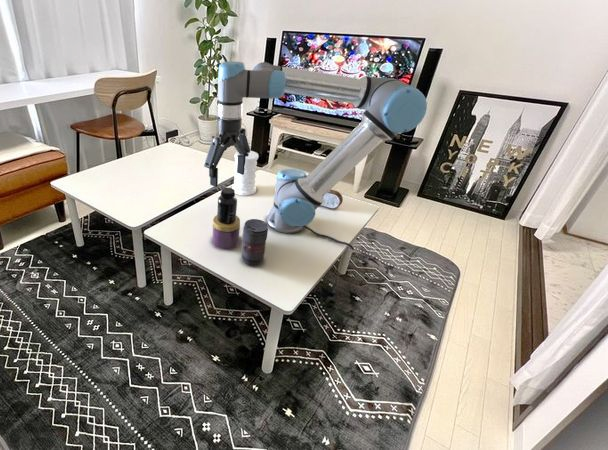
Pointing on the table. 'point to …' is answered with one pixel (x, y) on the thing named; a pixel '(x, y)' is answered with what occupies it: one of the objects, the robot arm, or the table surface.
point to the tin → (332, 199)
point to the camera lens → (254, 241)
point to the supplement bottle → (227, 206)
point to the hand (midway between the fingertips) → (227, 179)
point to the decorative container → (246, 175)
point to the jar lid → (226, 225)
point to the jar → (226, 238)
